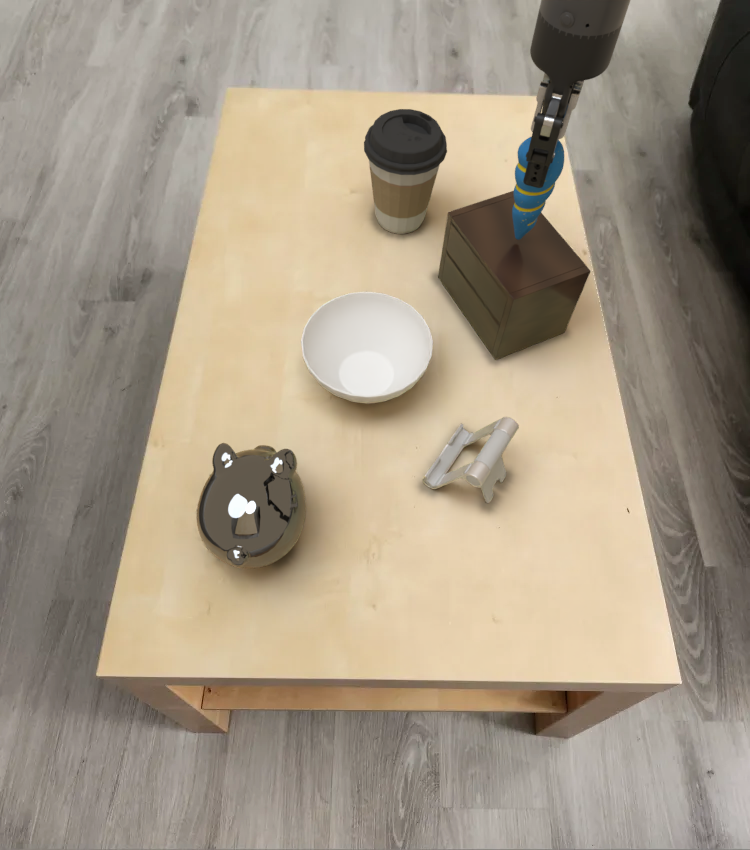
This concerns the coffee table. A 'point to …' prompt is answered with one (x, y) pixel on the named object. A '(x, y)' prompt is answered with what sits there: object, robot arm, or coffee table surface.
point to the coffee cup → (403, 166)
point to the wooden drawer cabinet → (509, 275)
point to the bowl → (366, 346)
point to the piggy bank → (251, 506)
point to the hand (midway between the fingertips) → (538, 167)
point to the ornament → (532, 190)
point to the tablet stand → (484, 466)
